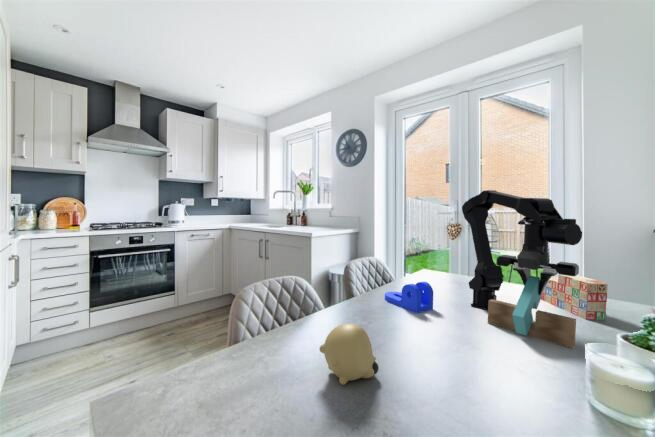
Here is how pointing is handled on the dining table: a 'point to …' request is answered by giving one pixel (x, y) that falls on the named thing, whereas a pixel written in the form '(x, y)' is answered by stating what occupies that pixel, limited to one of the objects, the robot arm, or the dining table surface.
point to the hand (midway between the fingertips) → (533, 293)
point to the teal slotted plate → (526, 305)
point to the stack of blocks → (577, 296)
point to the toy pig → (349, 353)
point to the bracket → (413, 297)
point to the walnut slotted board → (535, 323)
